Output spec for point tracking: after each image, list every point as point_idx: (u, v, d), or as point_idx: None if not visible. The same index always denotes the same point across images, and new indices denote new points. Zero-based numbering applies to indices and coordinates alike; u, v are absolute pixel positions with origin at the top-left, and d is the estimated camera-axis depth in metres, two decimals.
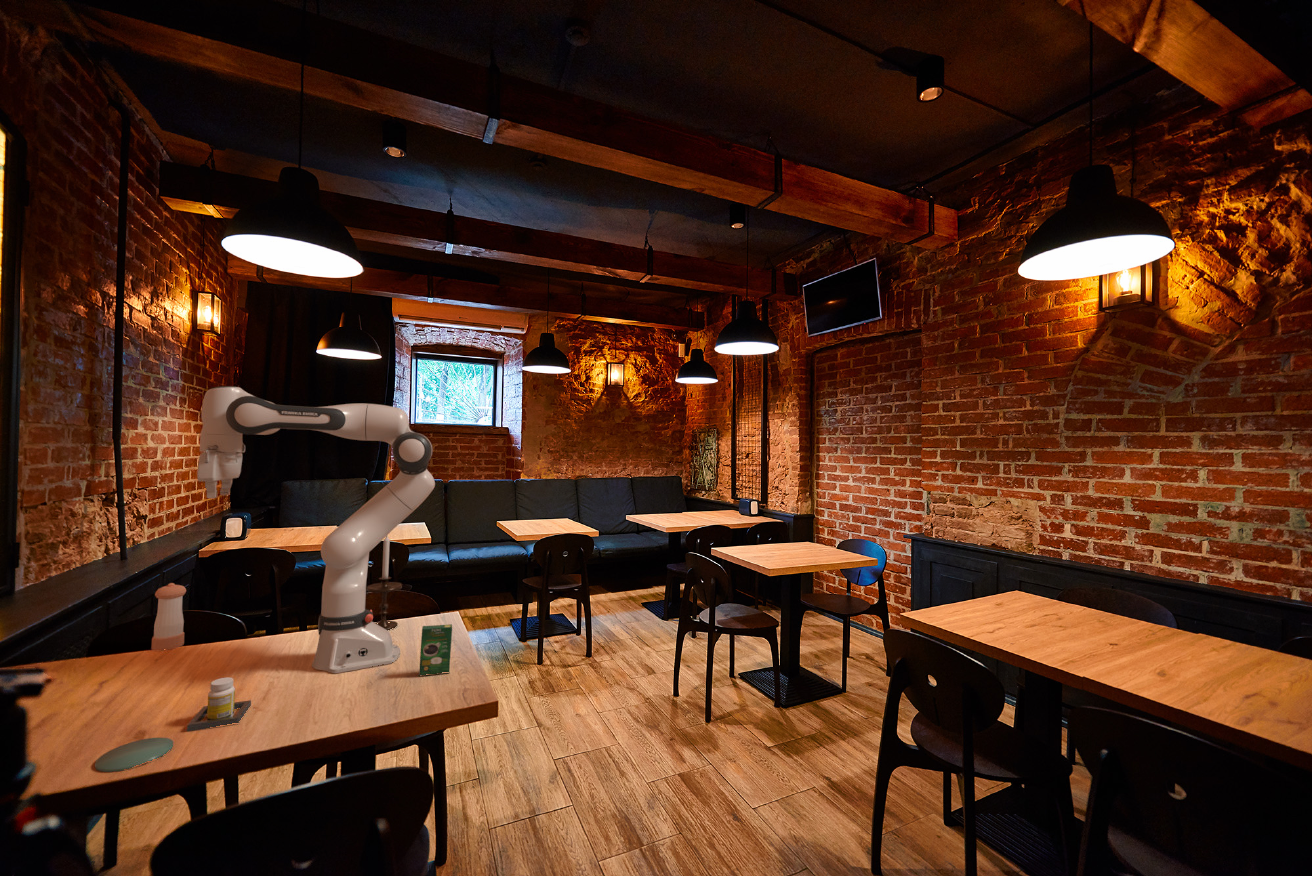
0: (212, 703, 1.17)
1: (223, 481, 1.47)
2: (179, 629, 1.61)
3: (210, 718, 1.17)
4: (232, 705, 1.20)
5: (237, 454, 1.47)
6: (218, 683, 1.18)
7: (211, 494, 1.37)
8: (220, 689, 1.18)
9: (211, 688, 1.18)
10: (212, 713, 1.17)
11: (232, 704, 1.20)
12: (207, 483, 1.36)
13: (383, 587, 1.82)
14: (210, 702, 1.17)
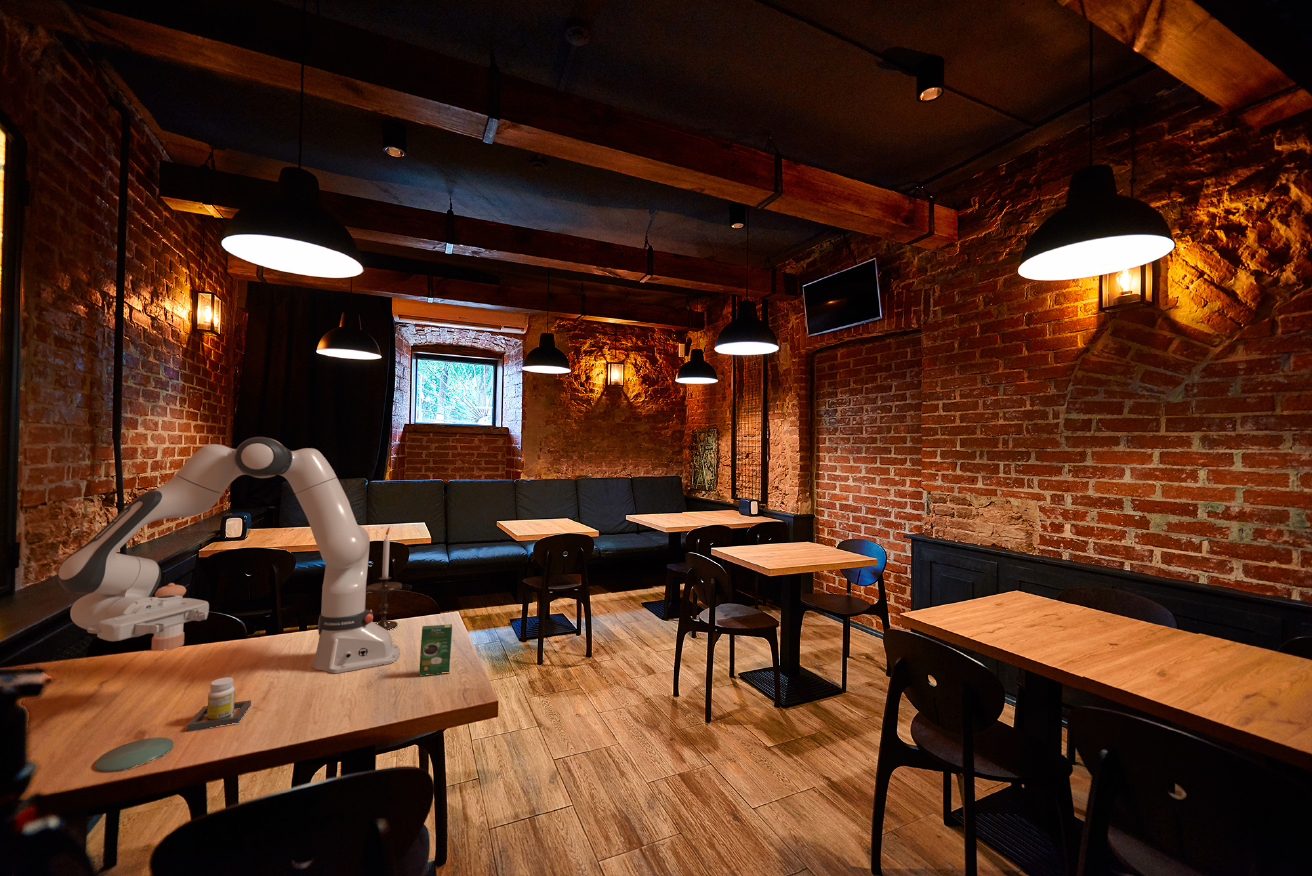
0: (212, 703, 1.17)
1: (193, 617, 1.28)
2: (179, 629, 1.61)
3: (210, 718, 1.17)
4: (232, 705, 1.20)
5: (162, 602, 1.29)
6: (218, 683, 1.18)
7: (153, 629, 1.18)
8: (220, 689, 1.18)
9: (211, 688, 1.18)
10: (212, 713, 1.17)
11: (232, 704, 1.20)
12: (137, 632, 1.17)
13: (383, 587, 1.82)
14: (210, 702, 1.17)
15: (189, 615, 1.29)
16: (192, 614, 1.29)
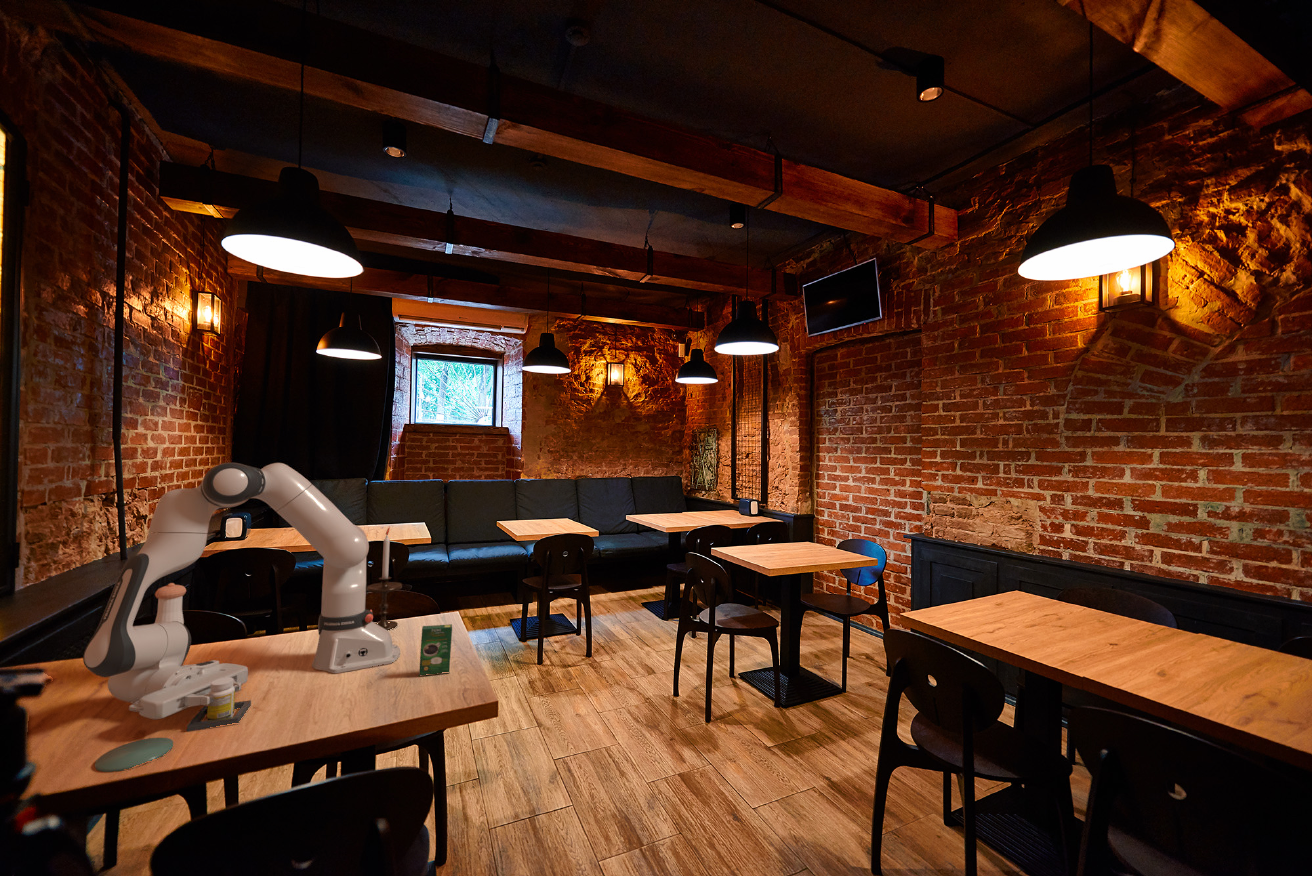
0: (212, 703, 1.17)
1: None
2: None
3: (210, 718, 1.17)
4: (232, 705, 1.20)
5: (201, 670, 1.25)
6: (218, 683, 1.18)
7: (203, 700, 1.16)
8: (220, 689, 1.18)
9: (211, 688, 1.18)
10: (212, 713, 1.17)
11: (232, 704, 1.20)
12: (187, 704, 1.15)
13: (383, 587, 1.82)
14: None
15: None
16: None
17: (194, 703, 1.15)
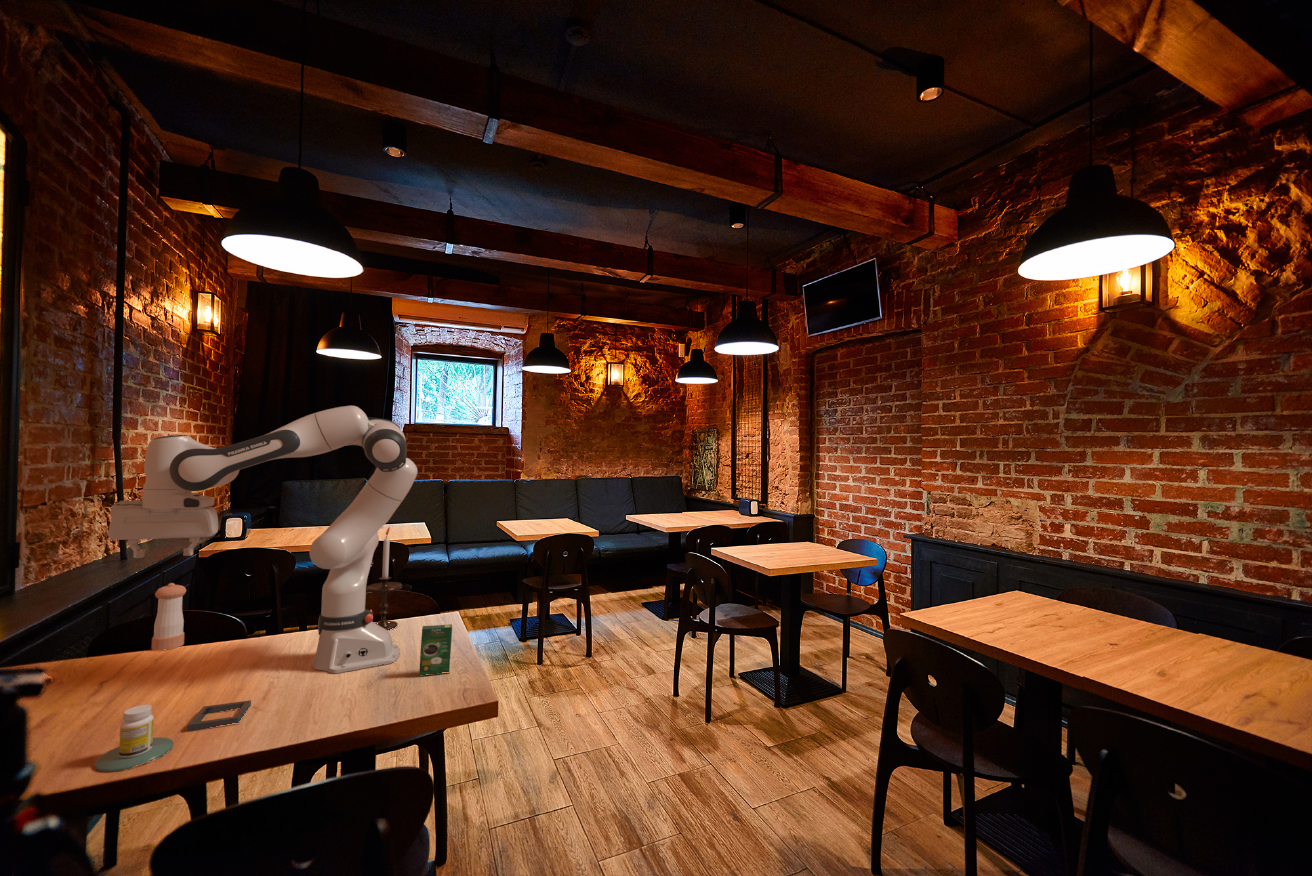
0: (124, 736, 1.02)
1: None
2: (179, 629, 1.61)
3: (121, 752, 1.02)
4: (149, 737, 1.05)
5: (180, 510, 1.29)
6: (132, 712, 1.03)
7: None
8: (134, 719, 1.03)
9: (124, 718, 1.03)
10: (124, 747, 1.02)
11: (149, 735, 1.05)
12: None
13: (383, 587, 1.82)
14: (122, 734, 1.02)
15: None
16: None
17: None
